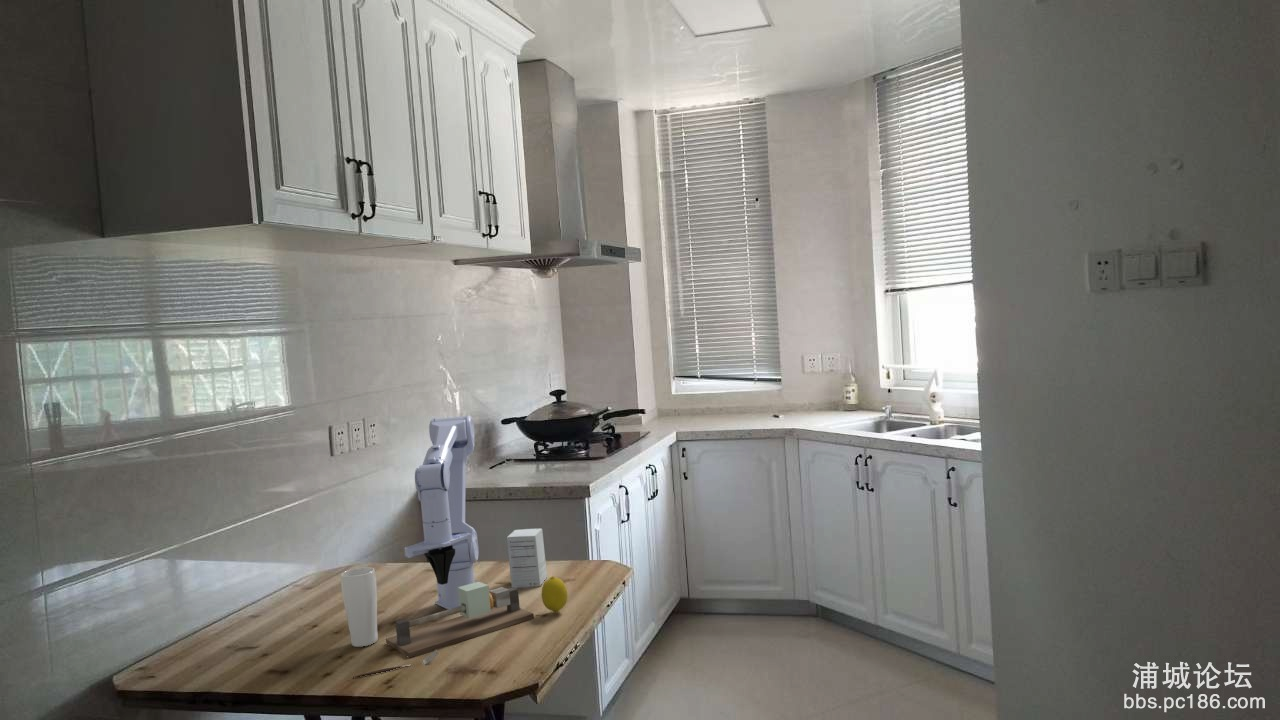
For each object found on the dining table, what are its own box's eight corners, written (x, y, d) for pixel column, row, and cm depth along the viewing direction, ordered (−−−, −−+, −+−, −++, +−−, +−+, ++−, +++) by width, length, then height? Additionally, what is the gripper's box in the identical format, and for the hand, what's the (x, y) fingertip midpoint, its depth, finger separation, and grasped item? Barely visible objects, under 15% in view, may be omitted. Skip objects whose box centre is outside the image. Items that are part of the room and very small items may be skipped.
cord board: (386, 643, 175) (383, 613, 174) (506, 606, 192) (504, 579, 192) (409, 658, 165) (406, 626, 165) (533, 618, 182) (531, 589, 182)
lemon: (564, 617, 181) (561, 579, 181) (540, 617, 182) (536, 580, 182) (572, 608, 187) (568, 572, 186) (547, 608, 188) (544, 573, 188)
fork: (350, 678, 158) (349, 668, 158) (437, 659, 164) (436, 648, 164) (351, 683, 156) (350, 672, 156) (439, 663, 162) (438, 653, 162)
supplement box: (519, 579, 213) (514, 529, 213) (547, 577, 212) (543, 527, 212) (510, 588, 206) (505, 536, 206) (540, 587, 205) (535, 535, 205)
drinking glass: (372, 634, 181) (365, 565, 180) (387, 641, 176) (380, 569, 175) (341, 645, 176) (334, 573, 176) (356, 652, 171) (349, 578, 171)
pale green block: (460, 614, 181) (457, 587, 181) (481, 608, 184) (478, 581, 184) (469, 618, 177) (466, 591, 177) (490, 612, 180) (488, 585, 180)
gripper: (411, 529, 173) (418, 595, 174) (476, 515, 182) (482, 578, 183) (398, 525, 179) (404, 589, 180) (461, 511, 188) (467, 572, 188)
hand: (442, 583), depth 182 cm, fingers closed
